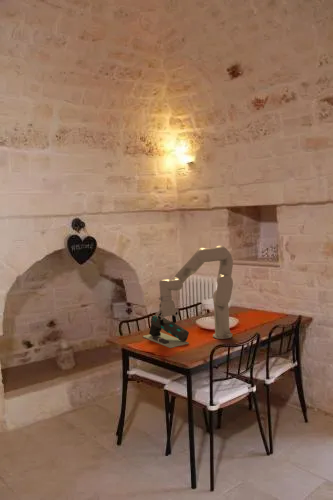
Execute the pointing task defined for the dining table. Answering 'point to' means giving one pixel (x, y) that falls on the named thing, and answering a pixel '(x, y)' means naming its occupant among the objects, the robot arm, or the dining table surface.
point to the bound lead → (160, 340)
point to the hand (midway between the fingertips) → (168, 323)
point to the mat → (172, 340)
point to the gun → (167, 328)
